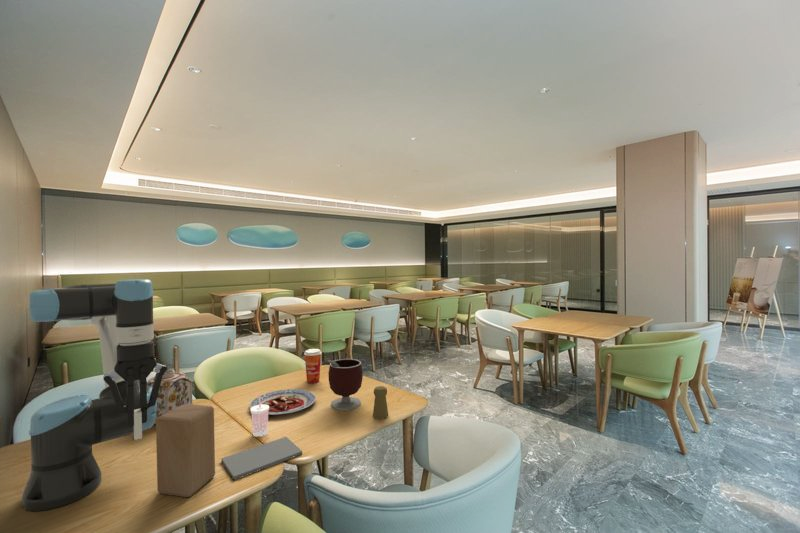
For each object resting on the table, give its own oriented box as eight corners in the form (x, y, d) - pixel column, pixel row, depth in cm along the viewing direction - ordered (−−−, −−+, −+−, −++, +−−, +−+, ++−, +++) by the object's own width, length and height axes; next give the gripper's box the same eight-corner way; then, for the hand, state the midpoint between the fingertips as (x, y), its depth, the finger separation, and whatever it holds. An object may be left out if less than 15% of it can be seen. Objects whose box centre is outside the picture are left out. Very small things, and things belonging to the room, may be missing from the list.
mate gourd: (350, 395, 161) (350, 350, 160) (369, 404, 150) (369, 356, 150) (319, 404, 150) (318, 356, 150) (337, 415, 140) (336, 363, 140)
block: (189, 499, 92) (187, 420, 91) (155, 494, 94) (153, 417, 93) (216, 476, 102) (215, 405, 101) (185, 472, 104) (184, 402, 103)
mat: (233, 480, 100) (233, 476, 100) (221, 461, 109) (221, 458, 109) (302, 454, 113) (302, 451, 113) (286, 439, 122) (286, 436, 122)
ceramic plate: (279, 425, 132) (279, 417, 132) (236, 410, 146) (236, 402, 146) (328, 401, 154) (328, 394, 154) (287, 390, 168) (287, 383, 168)
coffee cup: (301, 383, 176) (301, 352, 176) (308, 377, 184) (308, 348, 184) (318, 384, 175) (317, 353, 174) (324, 378, 183) (324, 348, 183)
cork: (391, 415, 140) (391, 386, 140) (380, 420, 136) (380, 391, 135) (380, 410, 144) (380, 383, 144) (369, 415, 140) (369, 387, 140)
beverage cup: (270, 428, 130) (270, 389, 129) (268, 436, 124) (267, 395, 123) (252, 430, 128) (251, 390, 128) (249, 438, 122) (248, 397, 122)
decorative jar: (141, 423, 134) (140, 374, 134) (169, 410, 146) (168, 365, 145) (167, 427, 131) (166, 377, 131) (193, 413, 142) (192, 368, 142)
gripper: (101, 349, 83) (104, 452, 83) (168, 340, 91) (171, 434, 92) (101, 343, 89) (103, 439, 89) (164, 335, 97) (166, 424, 97)
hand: (137, 436), depth 90 cm, fingers closed
